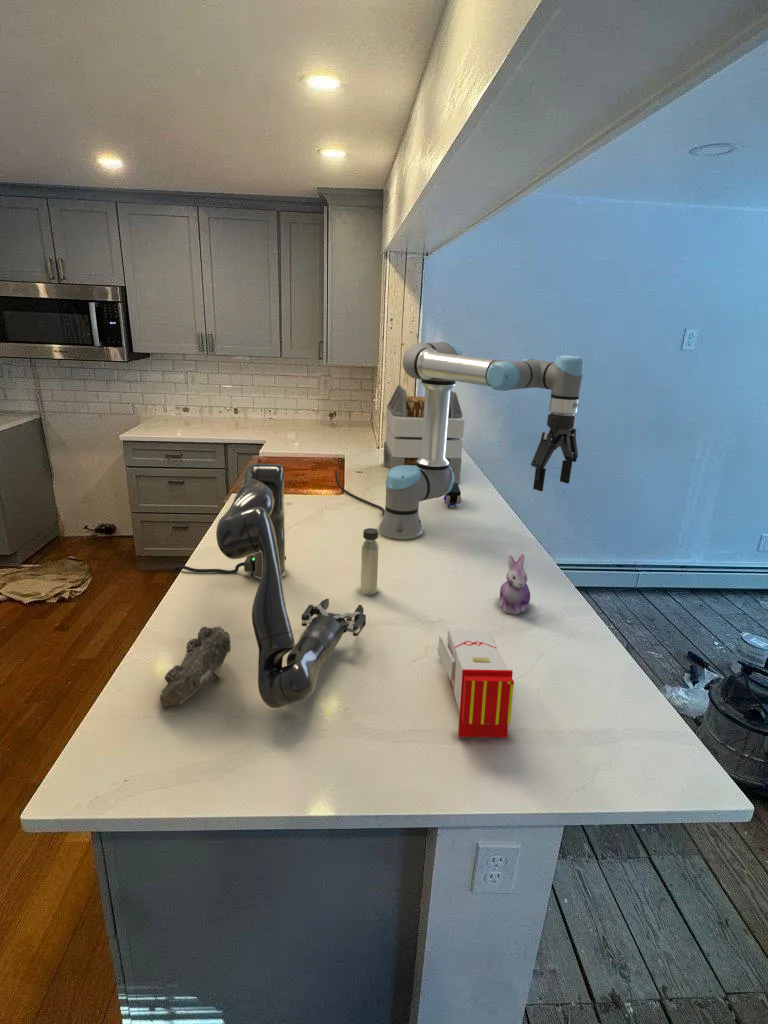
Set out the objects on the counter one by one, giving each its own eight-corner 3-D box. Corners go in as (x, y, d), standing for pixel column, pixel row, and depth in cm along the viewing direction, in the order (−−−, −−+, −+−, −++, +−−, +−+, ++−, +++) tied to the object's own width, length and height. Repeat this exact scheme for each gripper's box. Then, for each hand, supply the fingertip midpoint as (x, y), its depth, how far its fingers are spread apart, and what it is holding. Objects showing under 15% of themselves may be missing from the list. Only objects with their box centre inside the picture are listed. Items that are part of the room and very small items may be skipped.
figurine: (512, 619, 147) (519, 566, 142) (488, 601, 156) (494, 551, 151) (540, 611, 151) (548, 560, 146) (515, 594, 160) (522, 546, 155)
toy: (488, 613, 130) (523, 677, 101) (484, 667, 133) (517, 744, 104) (435, 612, 130) (455, 676, 101) (432, 666, 133) (451, 743, 103)
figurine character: (461, 513, 227) (456, 497, 240) (463, 496, 223) (458, 481, 237) (444, 512, 226) (440, 496, 240) (446, 495, 223) (442, 480, 237)
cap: (366, 541, 151) (367, 534, 150) (360, 535, 154) (360, 529, 153) (380, 538, 152) (380, 532, 152) (374, 533, 156) (374, 527, 155)
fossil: (184, 629, 128) (231, 598, 123) (214, 657, 131) (261, 628, 126) (138, 700, 109) (191, 667, 104) (173, 731, 112) (227, 701, 107)
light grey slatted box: (382, 463, 289) (386, 382, 275) (445, 464, 293) (451, 384, 279) (390, 482, 257) (394, 392, 243) (460, 483, 261) (468, 394, 247)
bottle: (364, 596, 156) (366, 536, 150) (357, 589, 160) (359, 530, 154) (379, 593, 158) (382, 534, 152) (372, 586, 162) (374, 528, 155)
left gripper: (350, 631, 120) (372, 596, 135) (288, 619, 123) (316, 586, 138) (349, 661, 122) (371, 623, 137) (289, 648, 126) (316, 613, 141)
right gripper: (548, 419, 148) (537, 496, 155) (597, 411, 164) (585, 482, 171) (524, 415, 153) (515, 489, 160) (574, 407, 169) (563, 476, 176)
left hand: (343, 605), depth 138 cm, fingers open, 8 cm apart
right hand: (551, 486), depth 166 cm, fingers open, 13 cm apart
